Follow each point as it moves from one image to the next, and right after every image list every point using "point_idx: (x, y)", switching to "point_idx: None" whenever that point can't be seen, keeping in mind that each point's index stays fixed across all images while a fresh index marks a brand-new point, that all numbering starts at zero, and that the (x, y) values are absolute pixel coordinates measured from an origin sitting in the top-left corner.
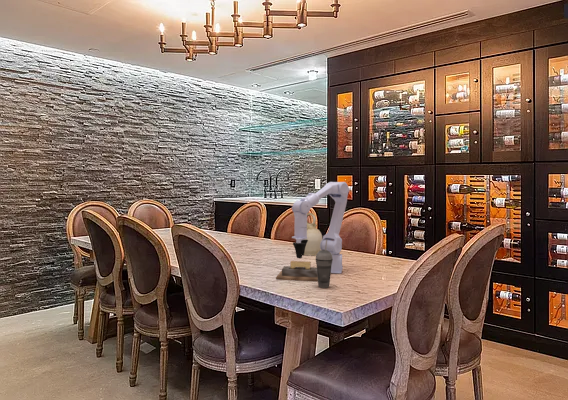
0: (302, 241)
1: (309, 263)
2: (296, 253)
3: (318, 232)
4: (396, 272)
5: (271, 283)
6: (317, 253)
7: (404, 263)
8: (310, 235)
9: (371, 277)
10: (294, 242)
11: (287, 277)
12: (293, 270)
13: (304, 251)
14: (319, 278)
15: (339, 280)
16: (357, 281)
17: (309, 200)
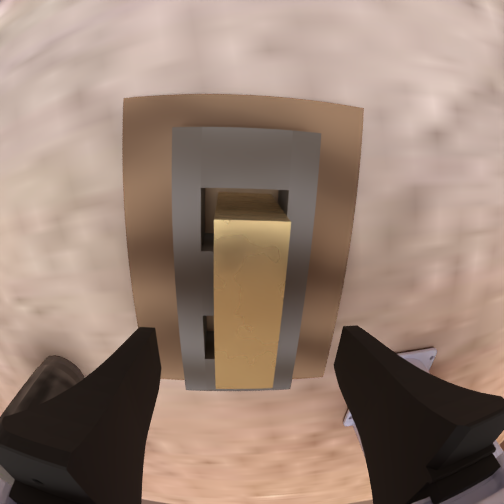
0: (400, 490)
1: (215, 381)
2: (111, 359)
3: None
4: (351, 498)
5: (30, 108)
6: None
7: None
8: None
9: (281, 483)
10: (45, 475)
11: (132, 184)
12: (174, 235)
13: (352, 402)
14: (24, 385)
15: (204, 428)
16: (206, 464)
17: None
